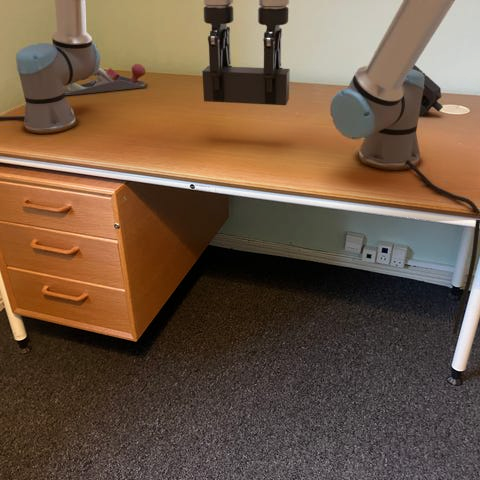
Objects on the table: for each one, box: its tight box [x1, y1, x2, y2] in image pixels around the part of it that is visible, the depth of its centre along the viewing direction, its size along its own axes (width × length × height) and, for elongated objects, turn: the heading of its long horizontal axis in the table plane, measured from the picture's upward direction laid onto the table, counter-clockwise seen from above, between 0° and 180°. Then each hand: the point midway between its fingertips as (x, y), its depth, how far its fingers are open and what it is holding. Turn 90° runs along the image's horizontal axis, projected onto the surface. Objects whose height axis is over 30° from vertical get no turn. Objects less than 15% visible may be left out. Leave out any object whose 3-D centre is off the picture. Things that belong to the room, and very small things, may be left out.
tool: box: [412, 64, 444, 116], centre depth 168 cm, size 6×19×15 cm, turn 51°
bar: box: [201, 65, 291, 106], centre depth 142 cm, size 22×6×8 cm, turn 77°
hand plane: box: [63, 63, 146, 96], centre depth 194 cm, size 7×31×15 cm, turn 107°
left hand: (221, 96), depth 146 cm, fingers closed on bar, 6 cm apart
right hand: (272, 99), depth 143 cm, fingers closed on bar, 6 cm apart
